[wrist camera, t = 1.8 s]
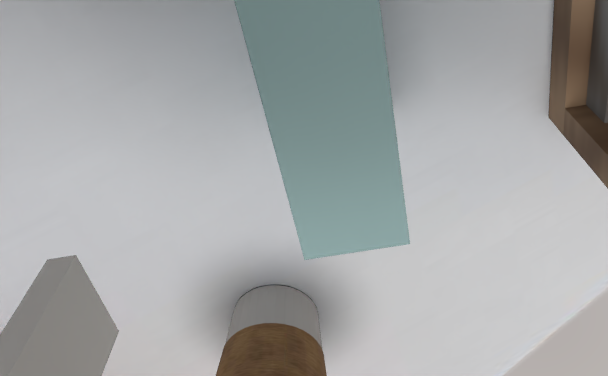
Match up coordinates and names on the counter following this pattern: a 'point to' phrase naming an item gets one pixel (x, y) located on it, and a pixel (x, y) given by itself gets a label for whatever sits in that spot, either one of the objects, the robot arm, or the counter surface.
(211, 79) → the counter surface
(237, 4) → the door panel
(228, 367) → the coffee cup
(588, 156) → the wooden book rack
